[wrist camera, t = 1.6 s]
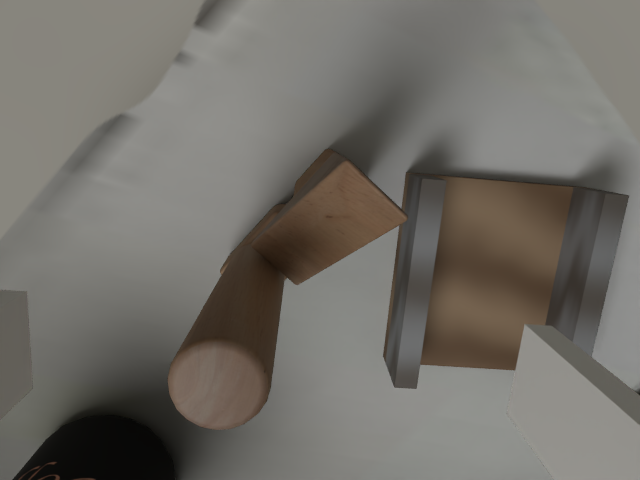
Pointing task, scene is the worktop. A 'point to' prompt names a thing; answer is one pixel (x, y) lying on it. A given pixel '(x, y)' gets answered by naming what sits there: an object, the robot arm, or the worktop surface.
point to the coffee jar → (100, 453)
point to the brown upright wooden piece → (272, 289)
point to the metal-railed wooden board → (495, 270)
